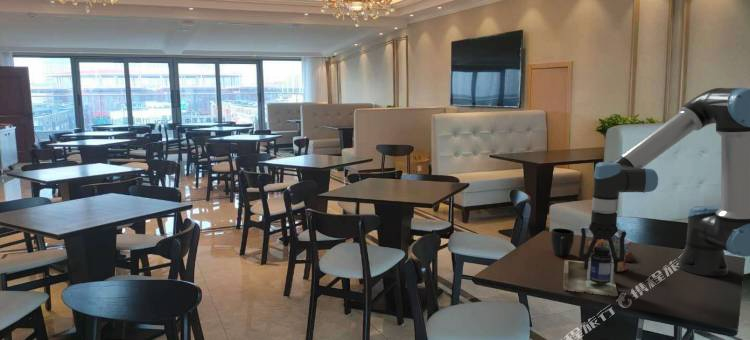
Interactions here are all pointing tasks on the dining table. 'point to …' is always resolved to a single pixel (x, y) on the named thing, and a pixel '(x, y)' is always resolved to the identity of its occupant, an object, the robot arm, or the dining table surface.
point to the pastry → (599, 243)
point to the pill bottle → (600, 265)
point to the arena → (584, 280)
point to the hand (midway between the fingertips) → (599, 279)
